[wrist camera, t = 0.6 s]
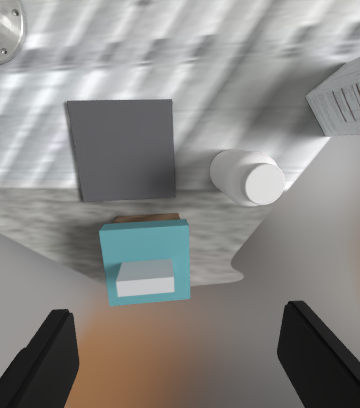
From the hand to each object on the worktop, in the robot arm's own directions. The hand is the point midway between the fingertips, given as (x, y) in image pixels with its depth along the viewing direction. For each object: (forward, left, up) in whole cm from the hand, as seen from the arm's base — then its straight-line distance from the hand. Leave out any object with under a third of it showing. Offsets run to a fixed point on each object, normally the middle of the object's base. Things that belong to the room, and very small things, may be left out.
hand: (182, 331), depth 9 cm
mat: (-7, +7, -33) cm, 34 cm away
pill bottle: (+12, +3, -33) cm, 35 cm away
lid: (-4, -11, -27) cm, 29 cm away
